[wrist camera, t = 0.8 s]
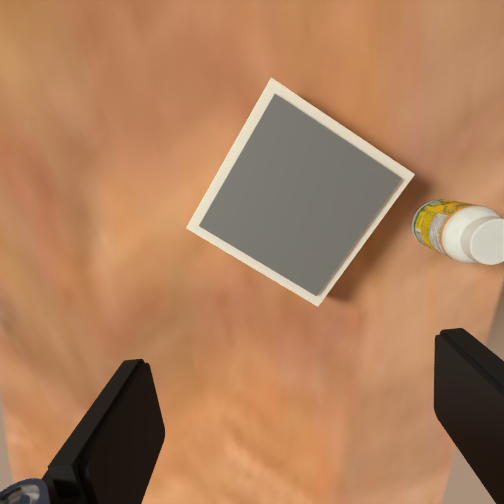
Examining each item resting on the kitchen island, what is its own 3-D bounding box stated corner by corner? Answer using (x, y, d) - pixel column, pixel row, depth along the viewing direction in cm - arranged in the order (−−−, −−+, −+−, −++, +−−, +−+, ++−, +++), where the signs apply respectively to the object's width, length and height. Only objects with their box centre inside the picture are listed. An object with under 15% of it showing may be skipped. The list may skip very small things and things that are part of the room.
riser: (270, 89, 33) (271, 76, 28) (395, 173, 35) (417, 174, 30) (195, 220, 37) (184, 229, 32) (311, 290, 38) (318, 308, 34)
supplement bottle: (403, 239, 37) (450, 264, 27) (420, 193, 35) (477, 202, 26) (448, 251, 37) (511, 279, 27) (467, 205, 35) (540, 219, 26)
